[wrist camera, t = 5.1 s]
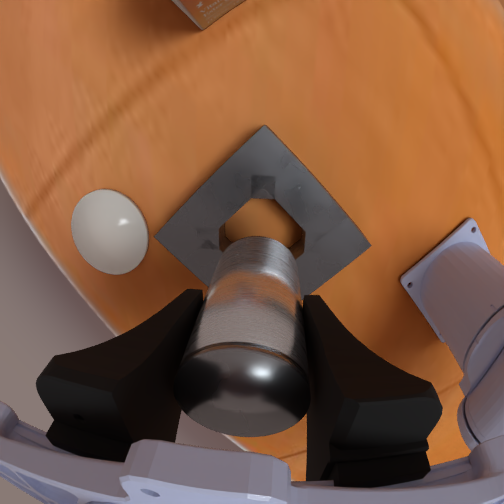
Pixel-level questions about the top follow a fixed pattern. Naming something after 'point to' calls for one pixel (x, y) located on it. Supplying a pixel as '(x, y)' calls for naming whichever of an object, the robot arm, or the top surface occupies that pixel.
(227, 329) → the silver metal cylinder
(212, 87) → the top surface
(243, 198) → the housing
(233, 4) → the small box
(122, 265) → the saucer
